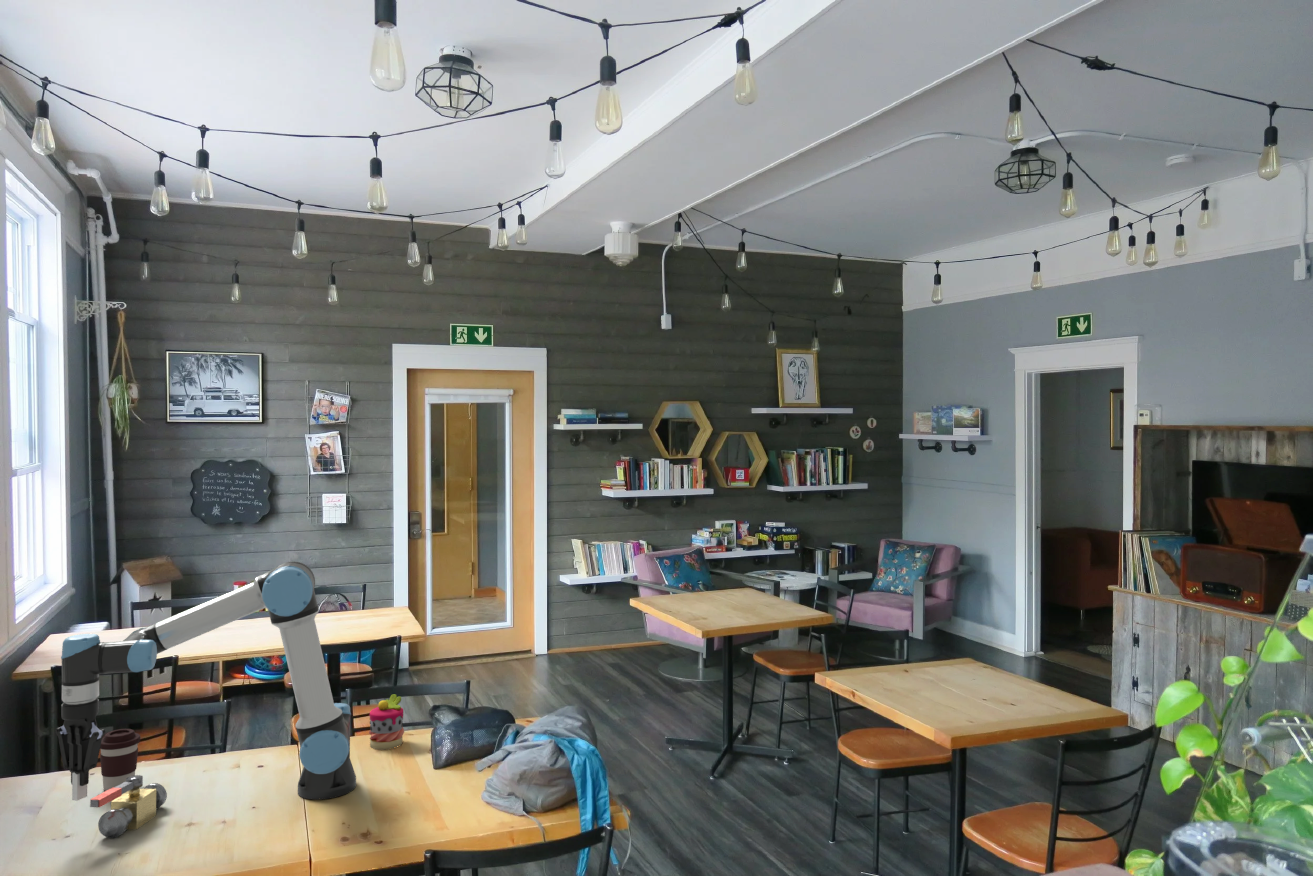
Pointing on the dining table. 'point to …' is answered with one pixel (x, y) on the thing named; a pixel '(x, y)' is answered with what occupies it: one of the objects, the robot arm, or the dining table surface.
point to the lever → (117, 791)
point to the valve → (132, 810)
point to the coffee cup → (118, 756)
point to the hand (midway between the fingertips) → (79, 798)
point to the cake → (386, 724)
